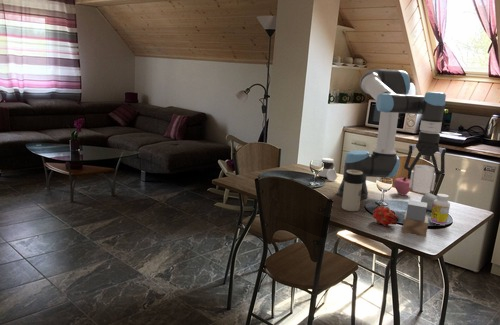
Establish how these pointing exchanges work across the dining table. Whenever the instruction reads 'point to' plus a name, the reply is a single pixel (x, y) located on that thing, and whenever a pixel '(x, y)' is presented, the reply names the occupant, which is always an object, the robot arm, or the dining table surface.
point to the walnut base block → (415, 226)
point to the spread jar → (328, 170)
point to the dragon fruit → (385, 216)
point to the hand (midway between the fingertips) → (421, 188)
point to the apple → (402, 185)
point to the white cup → (422, 178)
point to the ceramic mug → (429, 200)
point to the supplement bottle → (440, 209)
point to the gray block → (416, 210)
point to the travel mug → (352, 190)
